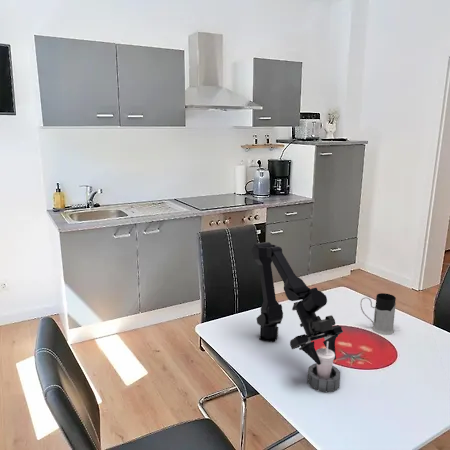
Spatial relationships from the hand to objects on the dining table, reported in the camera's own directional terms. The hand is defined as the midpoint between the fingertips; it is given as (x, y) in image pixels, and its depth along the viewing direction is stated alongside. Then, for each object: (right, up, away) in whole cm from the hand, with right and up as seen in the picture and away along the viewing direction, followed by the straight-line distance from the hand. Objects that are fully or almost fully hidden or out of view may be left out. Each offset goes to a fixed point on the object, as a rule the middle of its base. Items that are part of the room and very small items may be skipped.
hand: (327, 362), depth 133 cm
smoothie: (-1, -7, +3) cm, 7 cm away
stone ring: (-1, -8, +3) cm, 8 cm away
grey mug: (+31, 0, +40) cm, 51 cm away
